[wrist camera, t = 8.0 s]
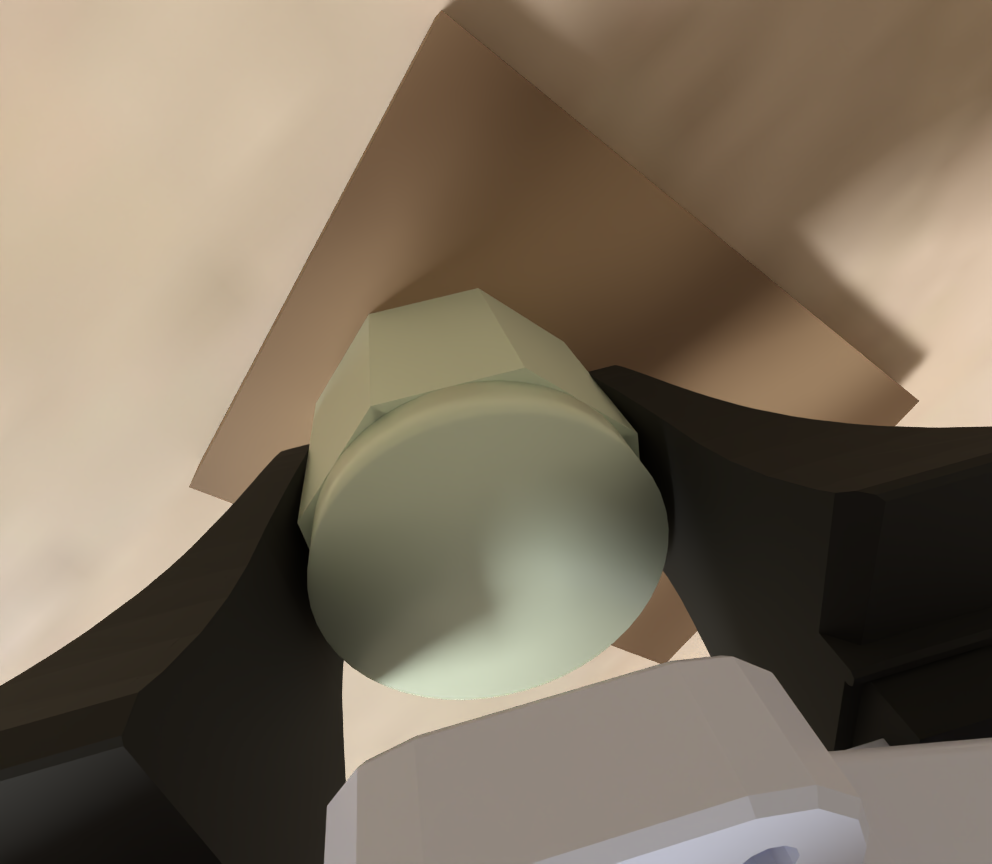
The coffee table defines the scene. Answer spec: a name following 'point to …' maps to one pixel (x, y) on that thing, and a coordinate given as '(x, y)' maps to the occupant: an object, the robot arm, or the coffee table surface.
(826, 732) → the robot arm
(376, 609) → the cap
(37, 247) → the coffee table surface
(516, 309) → the post base
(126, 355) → the coffee table surface
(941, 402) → the coffee table surface
